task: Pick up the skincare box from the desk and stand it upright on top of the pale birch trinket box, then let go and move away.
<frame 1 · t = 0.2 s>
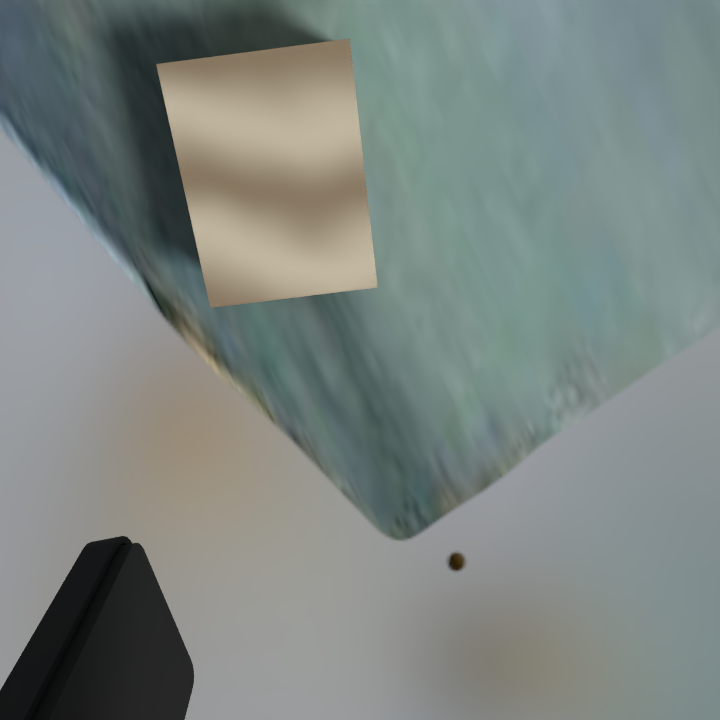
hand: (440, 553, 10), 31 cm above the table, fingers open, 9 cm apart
birch trinket box: (283, 173, 37), on the table
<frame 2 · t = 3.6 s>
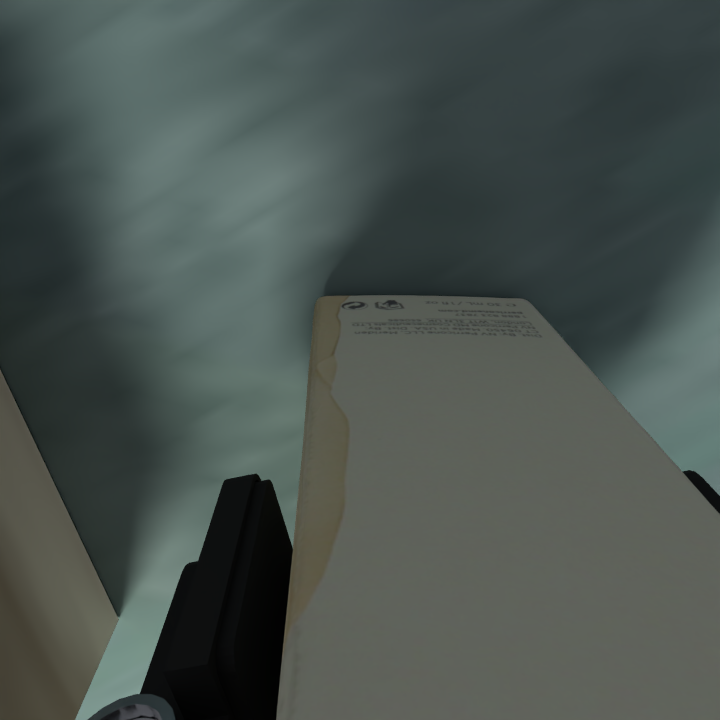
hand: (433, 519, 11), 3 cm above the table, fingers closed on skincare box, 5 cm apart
skincare box: (416, 428, 14), on the table, touching gripper
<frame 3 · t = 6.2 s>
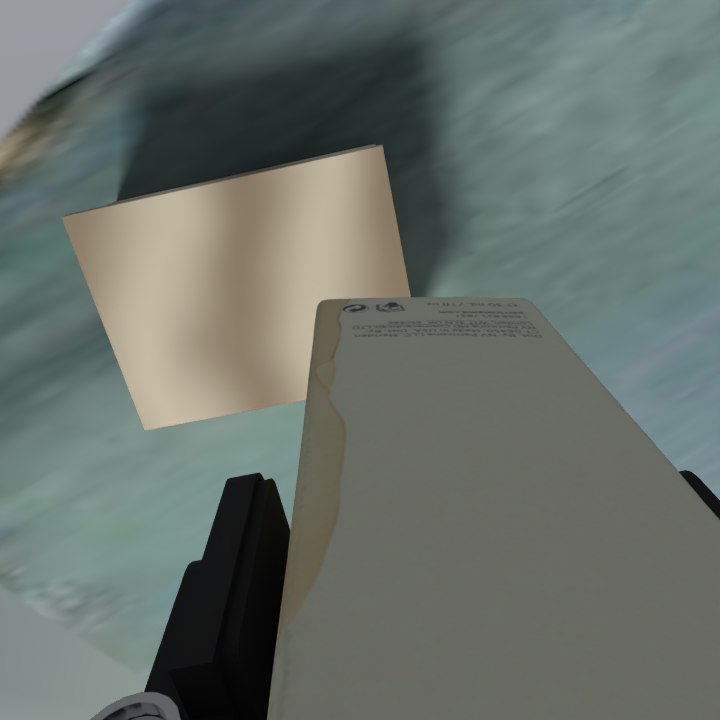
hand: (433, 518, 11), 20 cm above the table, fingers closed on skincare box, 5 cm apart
birch trinket box: (269, 269, 30), on the table
skincare box: (420, 429, 14), point 17 cm above the table, touching gripper
when the fingers open (9 cm above the table, at t = 9.0 s): skincare box stays where it is, resting on birch trinket box.
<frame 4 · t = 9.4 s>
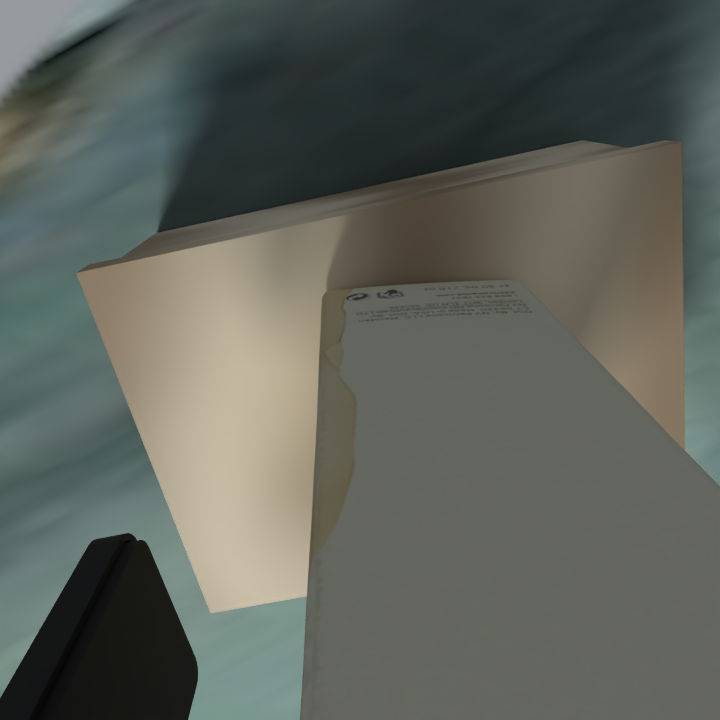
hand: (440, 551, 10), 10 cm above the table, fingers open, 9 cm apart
birch trinket box: (394, 336, 19), on the table
skincare box: (425, 409, 14), point 5 cm above the table, touching birch trinket box
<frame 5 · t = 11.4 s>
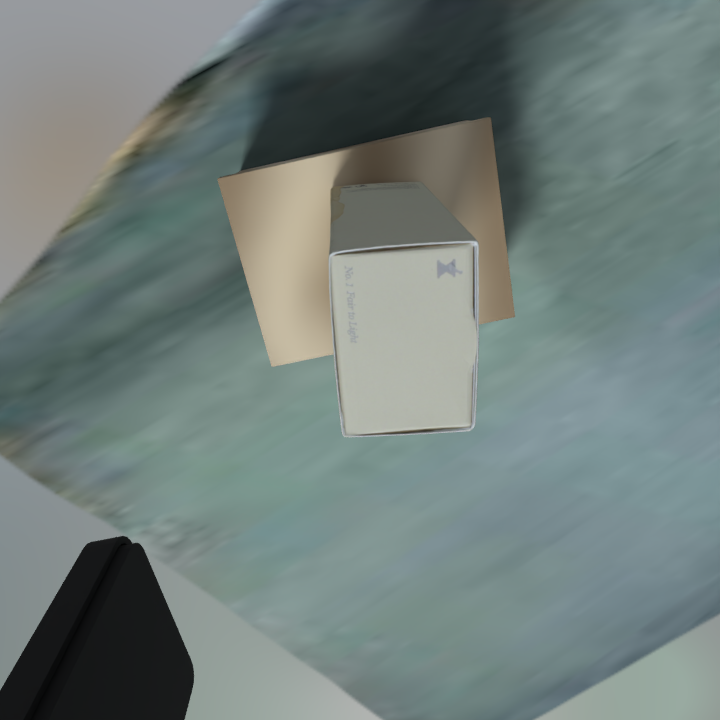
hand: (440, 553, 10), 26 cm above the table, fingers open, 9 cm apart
birch trinket box: (369, 230, 34), on the table
skincare box: (380, 250, 30), point 5 cm above the table, touching birch trinket box
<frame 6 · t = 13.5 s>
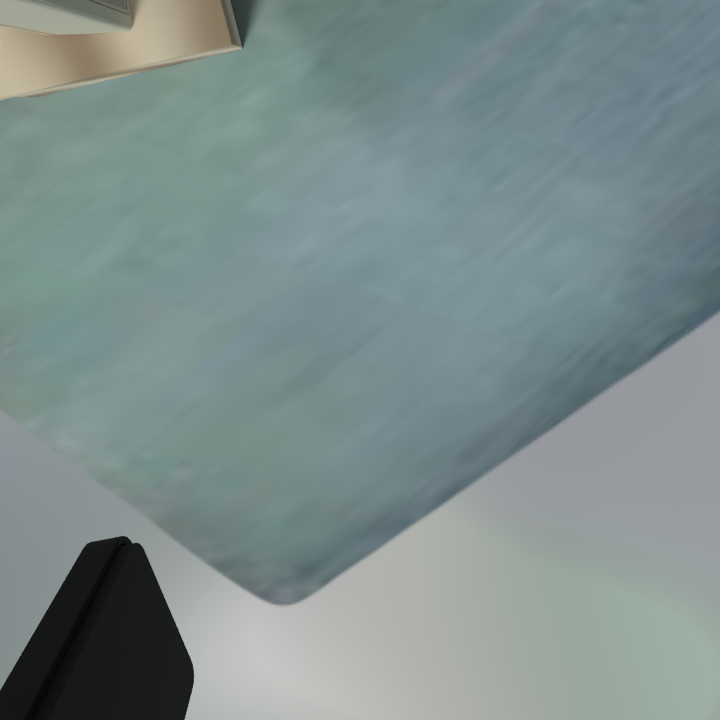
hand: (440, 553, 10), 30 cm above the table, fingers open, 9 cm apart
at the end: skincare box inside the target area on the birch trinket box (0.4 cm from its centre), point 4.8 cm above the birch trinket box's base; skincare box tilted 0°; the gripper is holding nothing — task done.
